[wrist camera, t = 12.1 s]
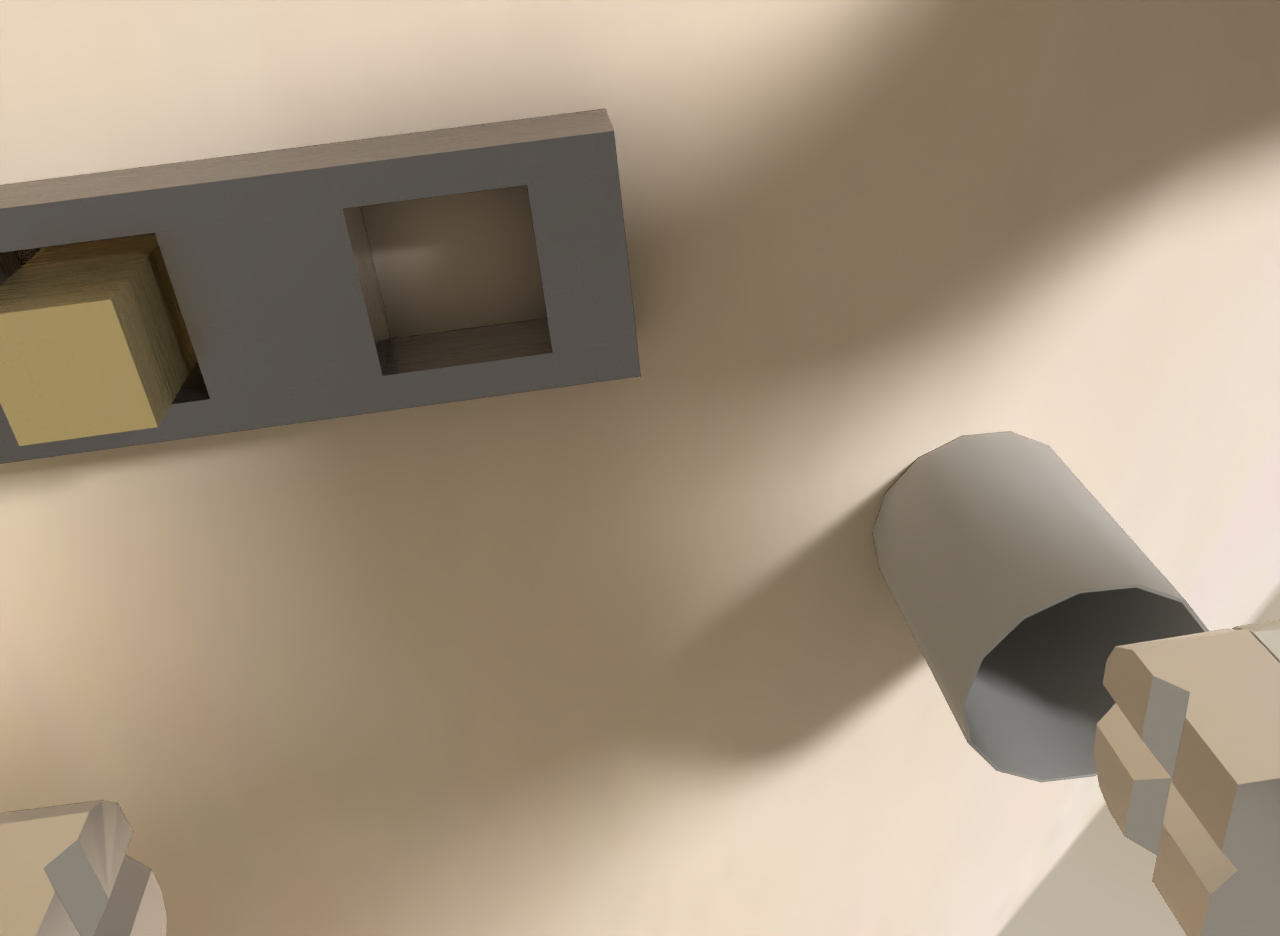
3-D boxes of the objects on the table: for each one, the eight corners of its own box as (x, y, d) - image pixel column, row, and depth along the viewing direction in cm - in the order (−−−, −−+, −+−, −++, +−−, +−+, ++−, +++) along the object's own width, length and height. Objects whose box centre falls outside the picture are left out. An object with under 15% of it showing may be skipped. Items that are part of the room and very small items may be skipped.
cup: (1115, 470, 44) (1264, 625, 35) (1005, 625, 47) (1116, 801, 39) (938, 405, 41) (1051, 555, 33) (836, 574, 45) (915, 749, 36)
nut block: (168, 231, 35) (111, 299, 30) (205, 345, 37) (157, 427, 32) (42, 247, 35) (-37, 319, 30) (86, 360, 37) (19, 446, 32)
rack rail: (605, 108, 35) (613, 130, 32) (631, 340, 39) (640, 376, 36) (-102, 198, 34) (-152, 228, 31) (0, 425, 38) (-36, 468, 35)
